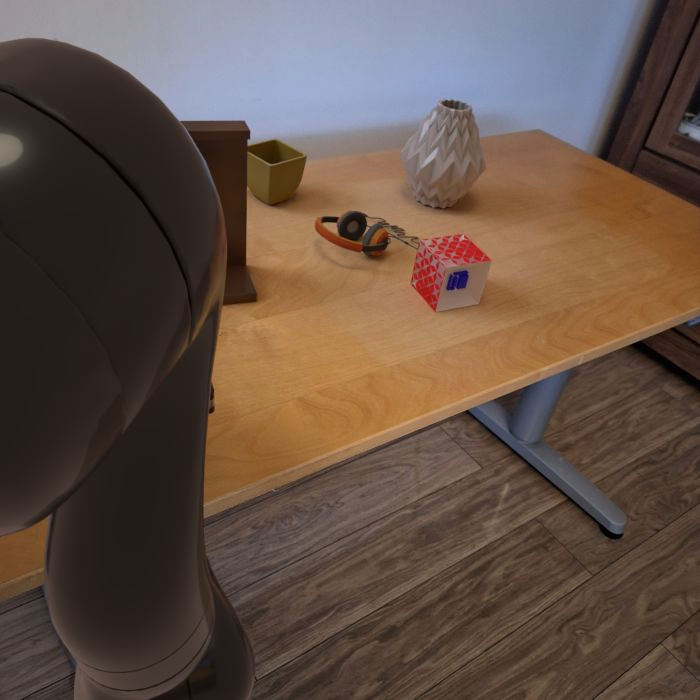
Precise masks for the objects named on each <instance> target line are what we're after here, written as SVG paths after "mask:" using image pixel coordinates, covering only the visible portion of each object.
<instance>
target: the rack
mask: <svg viewBox="0 0 700 700" xmlns="http://www.w3.org/2000/svg"><path fill="white" fill-rule="evenodd" d="M179 121H180V122H181V123H182V125H183V126H184V127H185V128H186V130H187V131H188V133H189V135H190V136H191V138H192V140H193V141H194V143H195V145H196V146H197V148H198V149H199V151H200V153H201V154H202V156H203V158H204V159H205V162H206V164H207V166H208V169H209V172H210V174H211V177H212V179H213V182H214V184H215V187H216V189H217V192H218V195H219V197H220V201H221V205H222V209H223V213H224V220H225V228H226V237H227V268H226V280H225V290H224V298H223V306H225V305H233V304H243V303H254V302H257V301H258V291H257V290H256V286H255V284H254V282H253V279H252V277H251V274H250V271H249V269H248V267H247V238H248V237H247V235H248V234H247V229H248V228H247V227H248V225H247V224H248V218H247V217H248V186H247V149H248V145H249V144H248V142H249V141H248V140H251V129H250V128H249V126H248V124H247V122H246V121H245V120H241V119H240V120H179Z"/></svg>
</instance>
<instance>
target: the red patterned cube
mask: <svg viewBox="0 0 700 700" xmlns="http://www.w3.org/2000/svg"><path fill="white" fill-rule="evenodd" d="M418 243H419V244H417V245H418V246H417V248H418V250H417V249H416V250H417V251H416V255H415V260H414V266H413V269H412V274H411V279H410V285H411V286H412V287H413V289H414V290H415V291H416V292H417V293H418V294H419V295H420V297H421V298H422V299H423V300H424V301H425V302H426V303H427V305H428V306H429V307H430V308H431V309H432V310H433V311H434V312H435V313H439V312H443V311H449V310H455V309H461V308H466V307H470V306H477V305H480V303H481V299H482V295H483V292H484V289H485V285H486V283H487V282H486V281H487V279H488V277H489V276H488V275H489V272H490V269H491V265H492V262H493V260H492V259H491V258H490V257H489V256H488V255H487V254H486V253H485V252H484V251H483V250H482V249H481V248H479V247H478V246H477V245H476V244H475V243H474V242H473V241H472V240H471V239H470V238H469V237H468V236H467V235H465V234H464V233H463V234H462V233H461V234H454V235H446V236H439V237H437V236H436V237H431V238H422V239H419V241H418Z"/></svg>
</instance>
